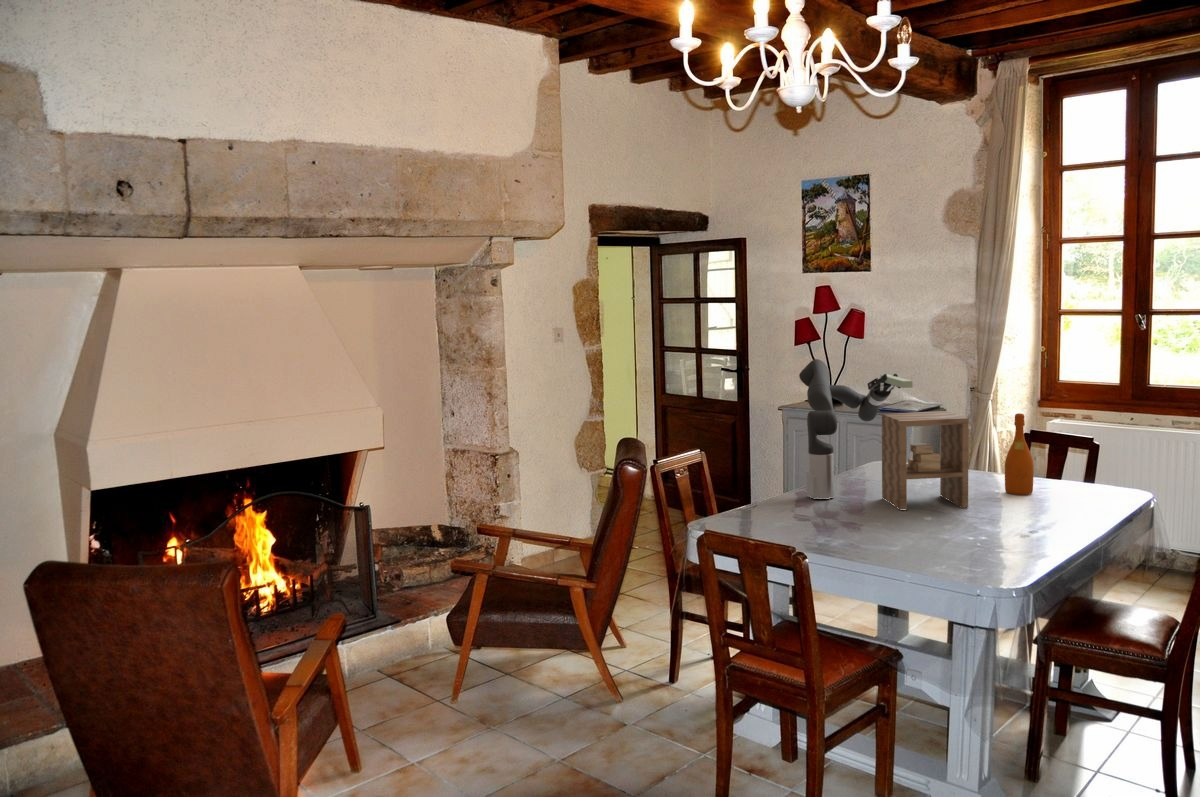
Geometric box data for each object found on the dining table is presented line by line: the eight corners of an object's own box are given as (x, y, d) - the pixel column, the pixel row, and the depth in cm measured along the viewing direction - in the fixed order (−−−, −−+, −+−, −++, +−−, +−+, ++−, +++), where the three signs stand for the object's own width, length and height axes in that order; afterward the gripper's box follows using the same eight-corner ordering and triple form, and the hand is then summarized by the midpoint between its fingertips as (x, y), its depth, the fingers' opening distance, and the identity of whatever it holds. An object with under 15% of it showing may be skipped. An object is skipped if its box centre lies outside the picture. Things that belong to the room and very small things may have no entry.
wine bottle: (998, 492, 358) (999, 413, 354) (1017, 489, 362) (1018, 411, 358) (1020, 497, 349) (1020, 416, 345) (1039, 493, 353) (1040, 413, 349)
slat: (880, 381, 382) (880, 375, 382) (888, 380, 382) (888, 374, 382) (903, 387, 356) (903, 381, 356) (912, 387, 356) (912, 380, 356)
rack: (882, 498, 355) (881, 413, 351) (945, 495, 355) (945, 411, 352) (901, 511, 335) (900, 421, 331) (968, 507, 336) (968, 418, 332)
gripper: (860, 385, 391) (871, 368, 376) (894, 384, 392) (907, 366, 376) (863, 402, 388) (874, 385, 373) (897, 401, 389) (910, 383, 373)
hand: (891, 376), depth 374 cm, fingers closed on slat, 3 cm apart
